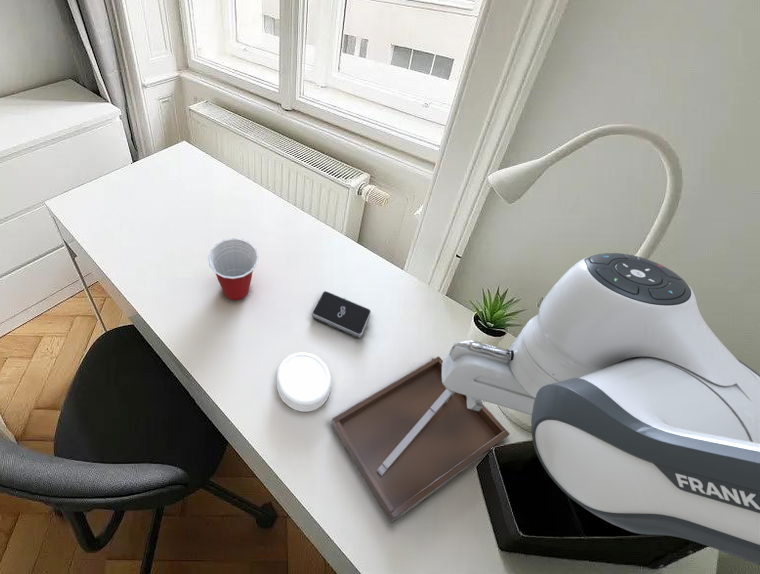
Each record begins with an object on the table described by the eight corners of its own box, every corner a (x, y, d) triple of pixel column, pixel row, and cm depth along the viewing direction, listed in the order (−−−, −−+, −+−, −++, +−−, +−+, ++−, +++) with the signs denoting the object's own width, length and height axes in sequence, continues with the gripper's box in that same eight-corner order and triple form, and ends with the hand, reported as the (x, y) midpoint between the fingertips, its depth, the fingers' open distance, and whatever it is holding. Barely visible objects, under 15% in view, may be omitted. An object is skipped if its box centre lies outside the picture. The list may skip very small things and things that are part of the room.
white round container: (286, 419, 72) (286, 411, 70) (270, 368, 80) (270, 358, 77) (338, 403, 74) (340, 394, 72) (317, 354, 82) (319, 345, 79)
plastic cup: (223, 317, 89) (218, 283, 81) (206, 282, 96) (201, 247, 89) (267, 299, 92) (267, 264, 84) (248, 266, 100) (246, 231, 92)
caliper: (447, 391, 75) (457, 374, 71) (453, 395, 74) (463, 379, 70) (376, 471, 65) (382, 457, 61) (381, 477, 65) (388, 463, 61)
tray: (504, 439, 69) (510, 433, 67) (391, 523, 61) (394, 518, 59) (435, 362, 80) (438, 356, 78) (331, 424, 71) (332, 418, 70)
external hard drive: (359, 340, 84) (360, 335, 82) (310, 318, 88) (310, 313, 87) (370, 315, 88) (371, 310, 87) (322, 295, 93) (323, 290, 91)
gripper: (457, 362, 46) (427, 413, 55) (677, 423, 41) (604, 470, 49) (456, 316, 51) (429, 371, 59) (654, 366, 45) (591, 418, 54)
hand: (510, 416), depth 54 cm, fingers open, 8 cm apart
